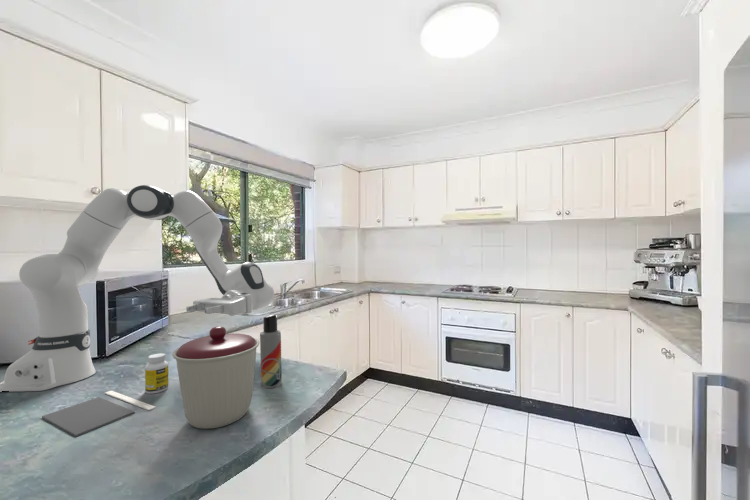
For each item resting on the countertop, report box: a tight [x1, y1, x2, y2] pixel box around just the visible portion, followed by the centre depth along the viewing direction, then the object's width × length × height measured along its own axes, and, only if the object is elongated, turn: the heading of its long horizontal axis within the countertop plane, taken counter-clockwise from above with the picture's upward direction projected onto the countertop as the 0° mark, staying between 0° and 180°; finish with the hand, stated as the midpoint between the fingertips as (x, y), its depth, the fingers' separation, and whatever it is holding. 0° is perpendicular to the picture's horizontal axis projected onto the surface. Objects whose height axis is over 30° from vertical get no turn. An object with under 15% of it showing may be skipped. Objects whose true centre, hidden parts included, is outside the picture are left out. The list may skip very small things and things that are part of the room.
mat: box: [41, 396, 136, 438], centre depth 77 cm, size 18×11×1 cm, turn 62°
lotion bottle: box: [259, 314, 283, 389], centre depth 93 cm, size 6×6×20 cm
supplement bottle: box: [144, 353, 169, 395], centre depth 91 cm, size 5×5×10 cm
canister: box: [171, 325, 260, 430], centre depth 75 cm, size 18×18×21 cm
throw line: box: [104, 390, 156, 412], centre depth 84 cm, size 22×2×1 cm, turn 62°
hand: (196, 310), depth 101 cm, fingers open, 8 cm apart
